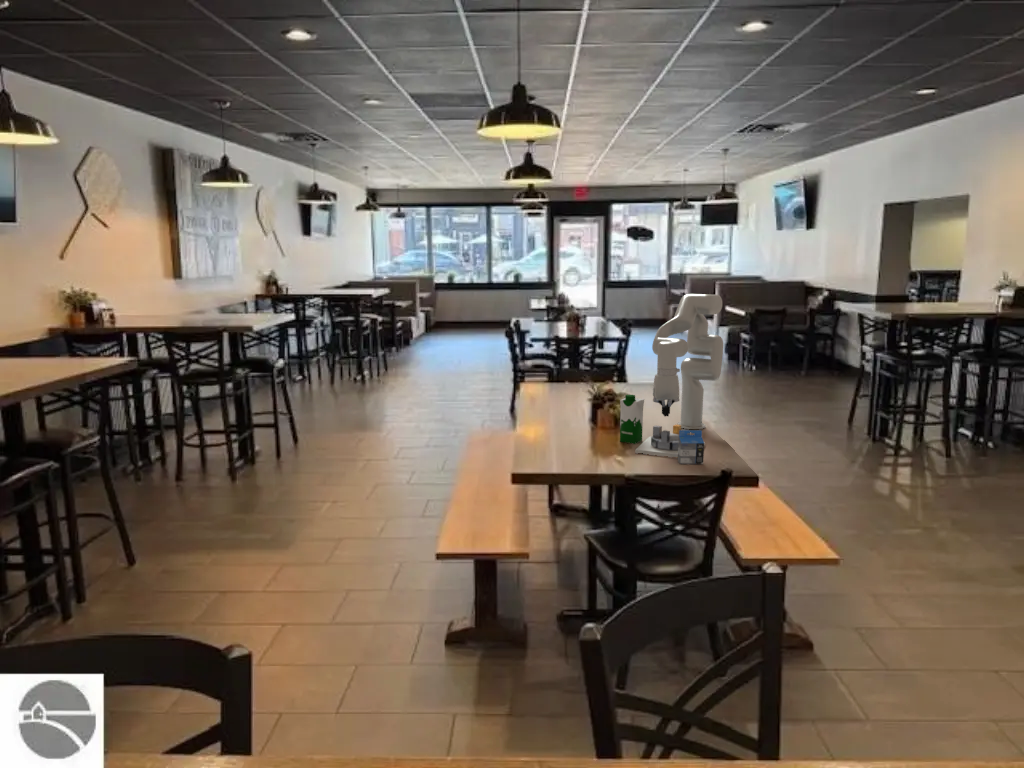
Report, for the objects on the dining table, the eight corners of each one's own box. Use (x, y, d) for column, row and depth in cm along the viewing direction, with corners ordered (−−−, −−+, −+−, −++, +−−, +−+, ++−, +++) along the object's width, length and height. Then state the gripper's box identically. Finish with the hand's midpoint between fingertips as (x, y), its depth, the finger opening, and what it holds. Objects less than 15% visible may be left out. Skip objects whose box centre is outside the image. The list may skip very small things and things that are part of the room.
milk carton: (616, 441, 308) (618, 395, 304) (626, 437, 315) (627, 391, 311) (636, 445, 303) (637, 397, 299) (645, 440, 310) (646, 394, 306)
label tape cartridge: (679, 464, 275) (681, 432, 273) (677, 461, 279) (678, 430, 277) (703, 464, 275) (705, 432, 273) (700, 461, 279) (702, 430, 277)
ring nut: (695, 443, 298) (696, 427, 296) (681, 452, 285) (682, 434, 284) (660, 438, 306) (661, 422, 305) (645, 446, 294) (646, 429, 292)
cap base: (649, 439, 311) (650, 425, 310) (704, 445, 302) (705, 431, 301) (635, 453, 290) (635, 438, 289) (693, 460, 281) (694, 444, 280)
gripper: (682, 369, 300) (681, 412, 304) (646, 370, 300) (645, 413, 304) (687, 373, 293) (686, 417, 297) (650, 374, 293) (649, 418, 297)
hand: (665, 415), depth 300 cm, fingers closed
